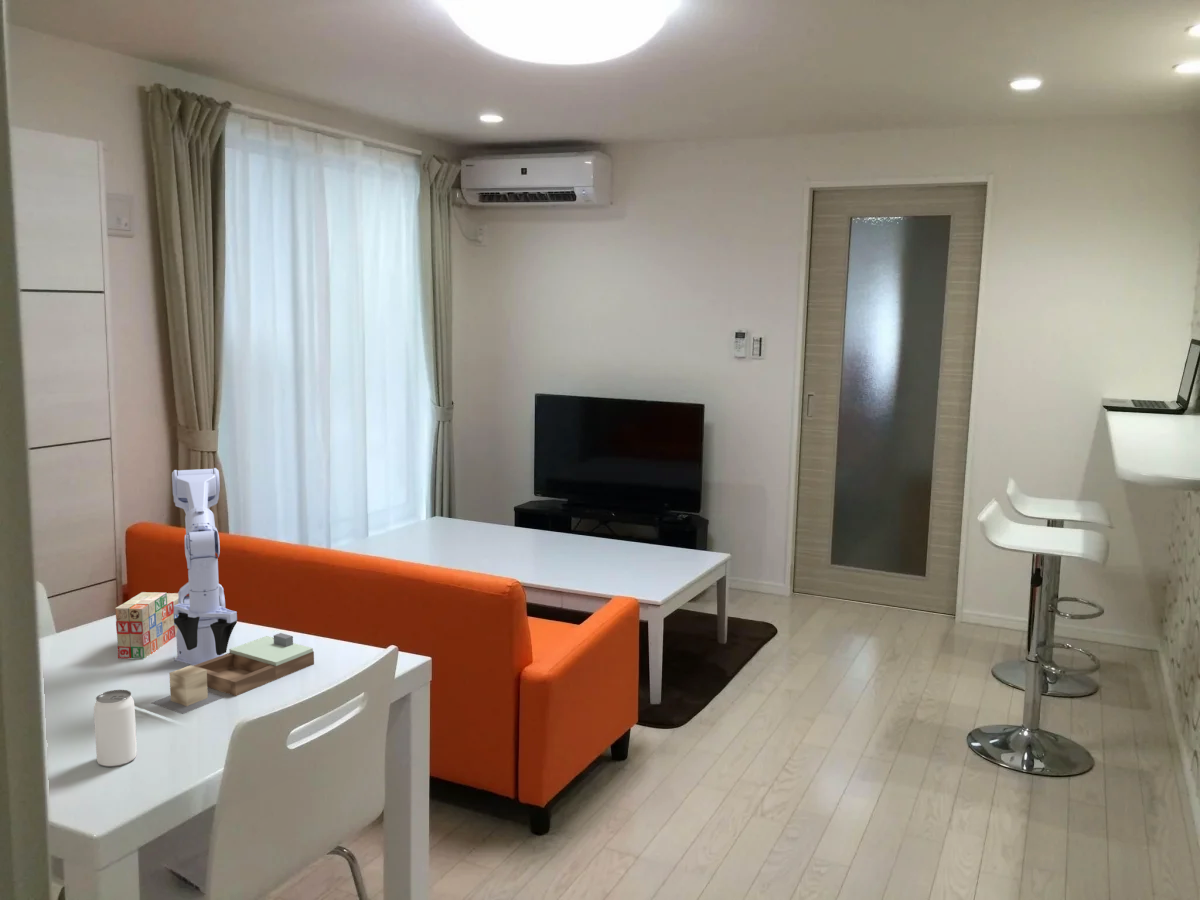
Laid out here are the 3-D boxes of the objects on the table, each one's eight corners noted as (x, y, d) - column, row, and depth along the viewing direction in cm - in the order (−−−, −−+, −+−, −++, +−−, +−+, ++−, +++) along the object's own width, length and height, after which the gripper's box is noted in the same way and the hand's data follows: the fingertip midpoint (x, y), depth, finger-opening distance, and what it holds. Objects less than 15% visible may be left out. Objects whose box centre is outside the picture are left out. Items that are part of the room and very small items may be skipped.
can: (106, 751, 176) (102, 688, 175) (142, 750, 177) (139, 688, 175) (90, 768, 170) (86, 703, 168) (128, 767, 171) (125, 702, 169)
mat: (151, 705, 197) (150, 702, 197) (193, 688, 205) (193, 686, 205) (183, 716, 192) (182, 713, 192) (225, 699, 201) (225, 696, 200)
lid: (229, 652, 217) (229, 640, 217) (266, 639, 226) (266, 627, 226) (276, 665, 210) (275, 653, 209) (312, 651, 219) (312, 639, 218)
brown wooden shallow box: (188, 683, 208) (188, 667, 208) (268, 653, 227) (267, 639, 226) (236, 698, 201) (235, 682, 201) (314, 666, 219) (313, 651, 219)
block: (170, 700, 198) (169, 672, 197) (191, 692, 202) (190, 665, 201) (186, 706, 195) (185, 677, 195) (207, 697, 200) (206, 670, 199)
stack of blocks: (162, 628, 243) (160, 580, 241) (187, 629, 243) (184, 581, 241) (117, 659, 222) (114, 607, 220) (144, 659, 222) (141, 608, 220)
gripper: (161, 589, 198) (164, 652, 200) (218, 597, 194) (221, 662, 196) (186, 580, 205) (189, 641, 207) (242, 588, 200) (245, 650, 202)
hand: (206, 651), depth 202 cm, fingers open, 7 cm apart
